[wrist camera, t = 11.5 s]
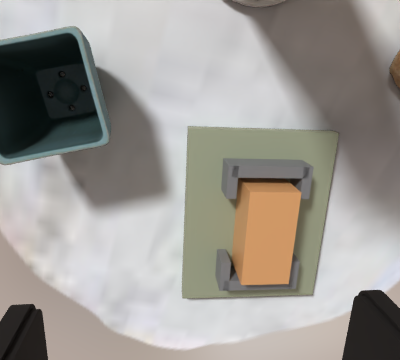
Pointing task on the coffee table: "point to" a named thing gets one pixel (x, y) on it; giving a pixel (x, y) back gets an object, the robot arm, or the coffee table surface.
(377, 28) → the coffee table surface
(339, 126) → the coffee table surface
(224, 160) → the green bracket base plate
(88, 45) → the flower pot
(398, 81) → the brown boot
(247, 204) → the tall tan rectangular prism
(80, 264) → the coffee table surface
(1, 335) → the robot arm
